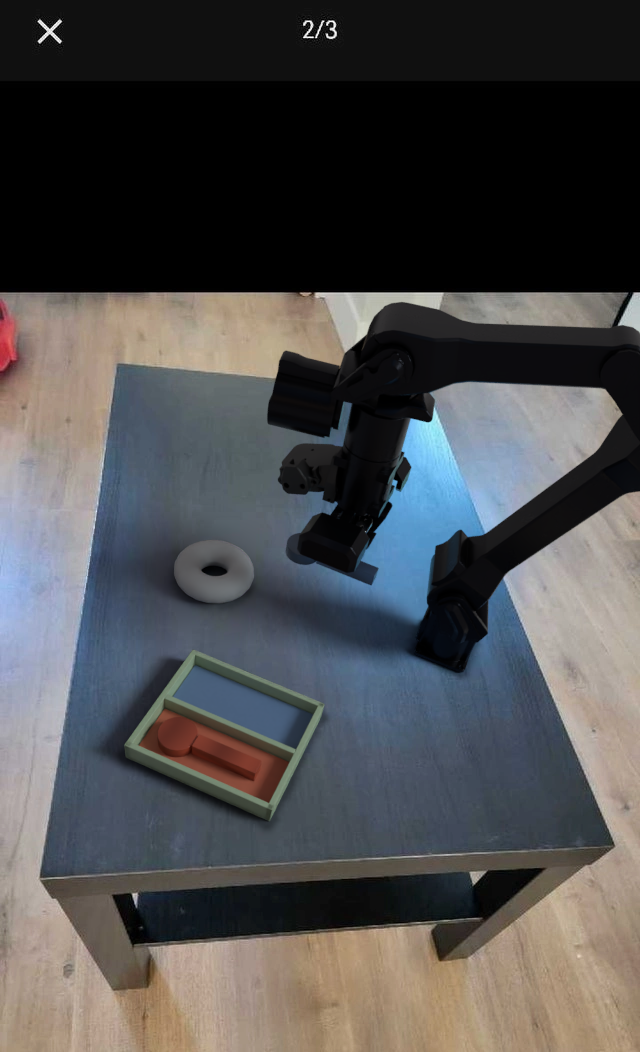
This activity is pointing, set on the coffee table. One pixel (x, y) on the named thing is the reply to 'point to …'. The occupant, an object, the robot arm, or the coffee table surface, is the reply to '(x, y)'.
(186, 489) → the coffee table surface
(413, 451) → the coffee table surface
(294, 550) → the blue spoon
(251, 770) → the red spoon
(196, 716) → the tray
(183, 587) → the donut
